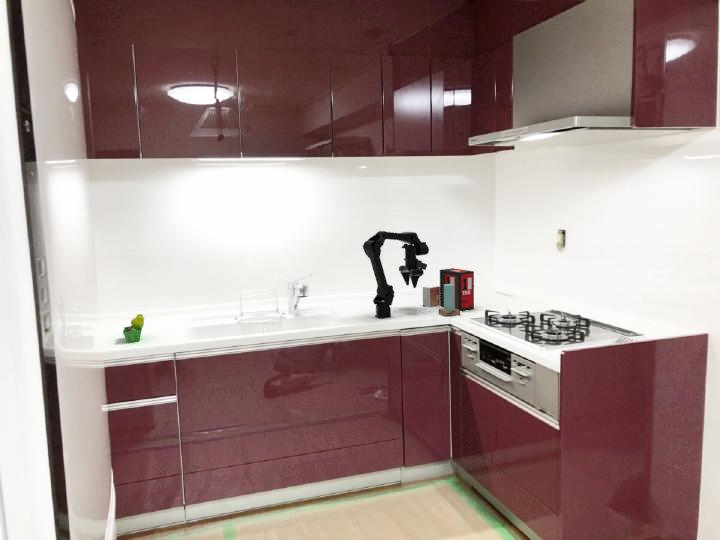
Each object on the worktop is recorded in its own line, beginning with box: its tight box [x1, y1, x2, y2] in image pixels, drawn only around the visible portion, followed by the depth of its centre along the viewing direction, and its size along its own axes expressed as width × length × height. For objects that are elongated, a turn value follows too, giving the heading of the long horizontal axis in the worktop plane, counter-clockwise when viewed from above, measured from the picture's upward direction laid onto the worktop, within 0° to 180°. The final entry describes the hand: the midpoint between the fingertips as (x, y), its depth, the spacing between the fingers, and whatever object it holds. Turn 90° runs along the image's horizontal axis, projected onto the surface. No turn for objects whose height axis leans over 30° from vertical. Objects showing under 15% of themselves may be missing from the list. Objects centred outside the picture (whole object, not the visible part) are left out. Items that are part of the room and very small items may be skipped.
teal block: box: [444, 284, 455, 311], centre depth 293 cm, size 4×4×12 cm
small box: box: [422, 284, 440, 308], centre depth 317 cm, size 8×6×10 cm
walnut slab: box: [437, 307, 461, 318], centre depth 294 cm, size 8×8×2 cm
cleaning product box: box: [439, 267, 475, 312], centre depth 308 cm, size 16×9×20 cm, turn 32°
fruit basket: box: [122, 313, 145, 344], centre depth 259 cm, size 11×9×11 cm
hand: (411, 286), depth 302 cm, fingers open, 9 cm apart
